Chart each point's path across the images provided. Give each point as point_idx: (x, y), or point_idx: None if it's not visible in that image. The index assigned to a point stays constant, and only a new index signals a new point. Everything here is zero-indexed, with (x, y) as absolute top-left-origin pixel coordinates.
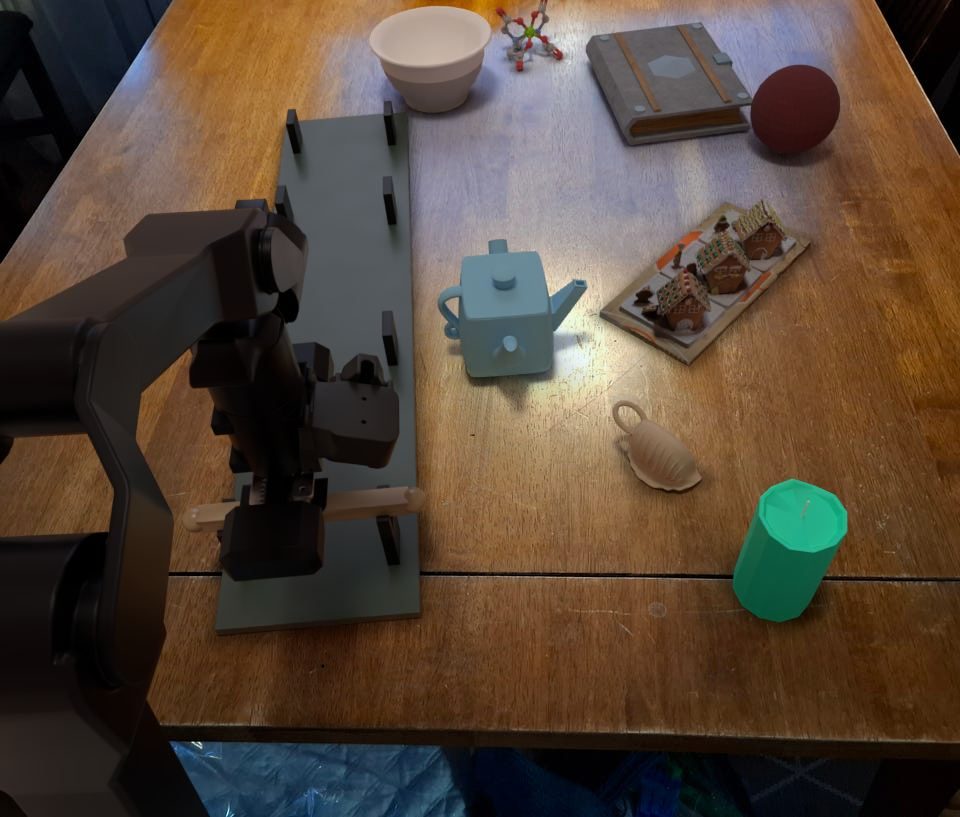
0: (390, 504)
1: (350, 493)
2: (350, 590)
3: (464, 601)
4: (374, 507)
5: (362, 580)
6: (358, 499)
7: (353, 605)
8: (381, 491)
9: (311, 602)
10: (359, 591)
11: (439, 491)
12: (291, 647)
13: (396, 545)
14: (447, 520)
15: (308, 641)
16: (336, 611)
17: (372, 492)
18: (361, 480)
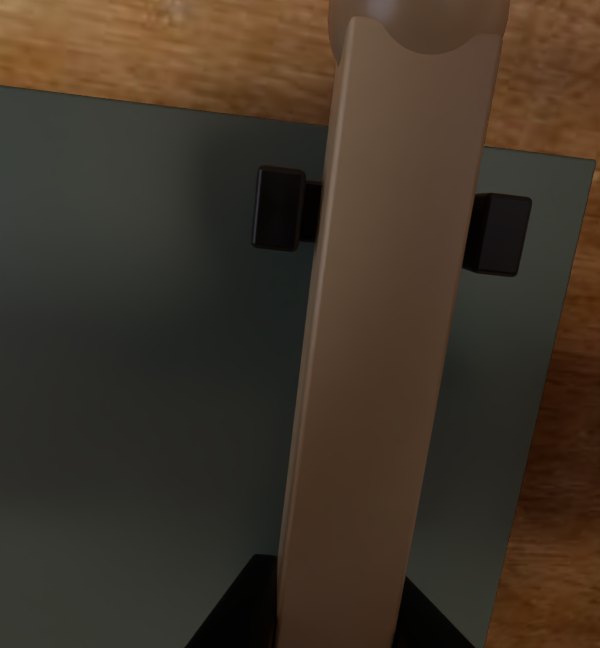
0: (472, 168)
1: (318, 420)
2: (459, 364)
3: (563, 12)
4: (457, 280)
5: None
6: (377, 376)
7: (511, 360)
8: (355, 219)
9: (465, 472)
10: (470, 339)
11: (121, 24)
12: (546, 512)
13: None
14: (248, 15)
15: (543, 473)
16: (514, 408)
17: (347, 282)
18: (51, 295)
